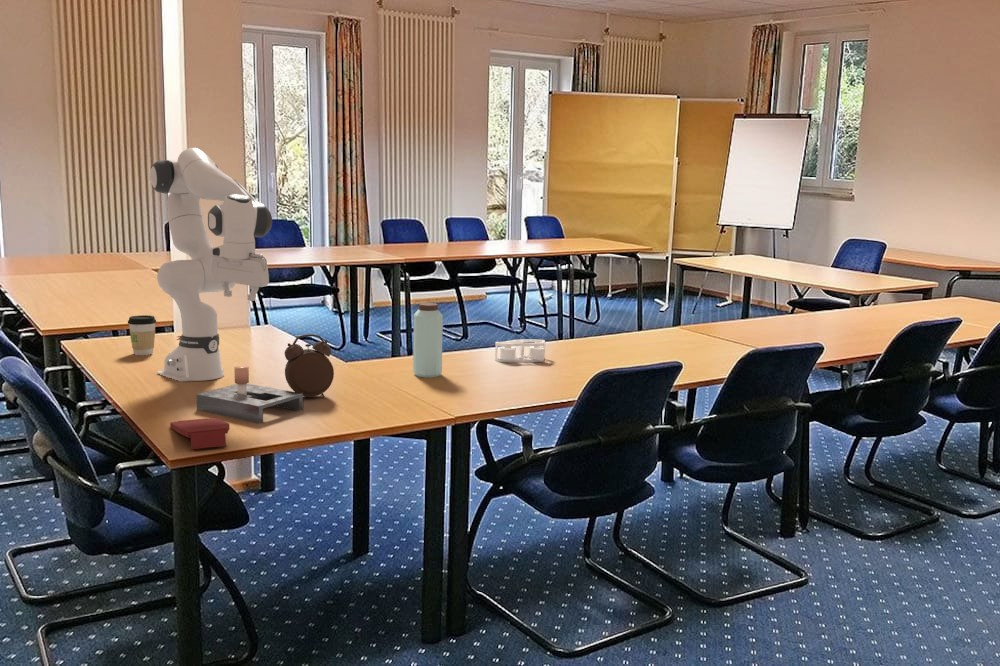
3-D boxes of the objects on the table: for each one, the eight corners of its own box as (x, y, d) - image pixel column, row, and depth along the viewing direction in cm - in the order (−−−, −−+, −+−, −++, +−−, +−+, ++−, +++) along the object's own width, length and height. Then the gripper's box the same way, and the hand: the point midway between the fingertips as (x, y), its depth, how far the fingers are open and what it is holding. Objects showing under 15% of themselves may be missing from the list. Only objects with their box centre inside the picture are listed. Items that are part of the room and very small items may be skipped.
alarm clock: (329, 393, 292) (328, 331, 289) (335, 399, 286) (334, 335, 282) (282, 397, 286) (281, 333, 283) (287, 402, 280) (286, 337, 276)
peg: (242, 406, 274) (241, 364, 272) (254, 408, 272) (253, 366, 270) (230, 409, 270) (229, 367, 268) (242, 412, 268) (241, 369, 266)
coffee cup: (136, 354, 343) (134, 314, 340) (162, 355, 343) (160, 315, 340) (124, 360, 333) (122, 318, 331) (151, 360, 333) (149, 319, 330)
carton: (170, 439, 251) (184, 450, 229) (169, 421, 251) (182, 430, 229) (216, 435, 257) (234, 444, 234) (215, 417, 256) (232, 425, 234)
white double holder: (497, 364, 344) (497, 345, 342) (492, 358, 354) (492, 339, 353) (549, 363, 347) (550, 344, 346) (543, 357, 358) (544, 339, 357)
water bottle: (439, 379, 316) (441, 306, 312) (410, 378, 317) (411, 305, 313) (443, 372, 326) (444, 302, 322) (415, 371, 327) (416, 301, 322)
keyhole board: (259, 423, 256) (258, 406, 255) (196, 410, 268) (196, 394, 267) (302, 410, 272) (302, 393, 271) (242, 398, 283) (241, 382, 282)
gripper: (274, 254, 267) (273, 301, 270) (222, 247, 276) (222, 292, 279) (258, 256, 261) (258, 304, 264) (206, 248, 271) (206, 295, 274)
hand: (239, 298), depth 272 cm, fingers open, 8 cm apart
